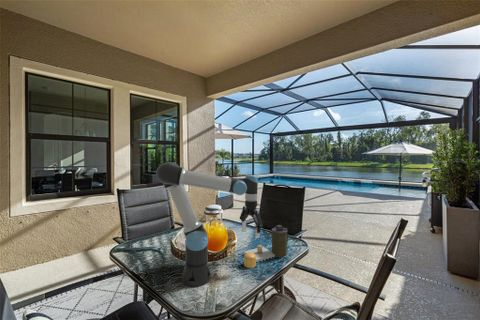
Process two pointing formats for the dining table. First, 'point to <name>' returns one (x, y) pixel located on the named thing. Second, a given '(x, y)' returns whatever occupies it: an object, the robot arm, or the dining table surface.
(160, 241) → the dining table surface
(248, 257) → the tan wooden cylinder
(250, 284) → the dining table surface
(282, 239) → the canister
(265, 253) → the board
